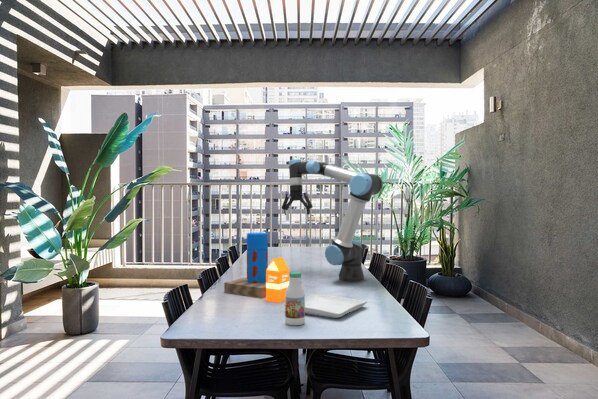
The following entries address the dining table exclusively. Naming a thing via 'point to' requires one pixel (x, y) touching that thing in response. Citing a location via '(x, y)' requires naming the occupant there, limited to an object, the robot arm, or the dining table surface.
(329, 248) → the robot arm
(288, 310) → the milk bottle
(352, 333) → the dining table surface
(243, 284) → the walnut riser
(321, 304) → the square plate
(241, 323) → the dining table surface
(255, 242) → the thermos
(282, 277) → the orange juice
